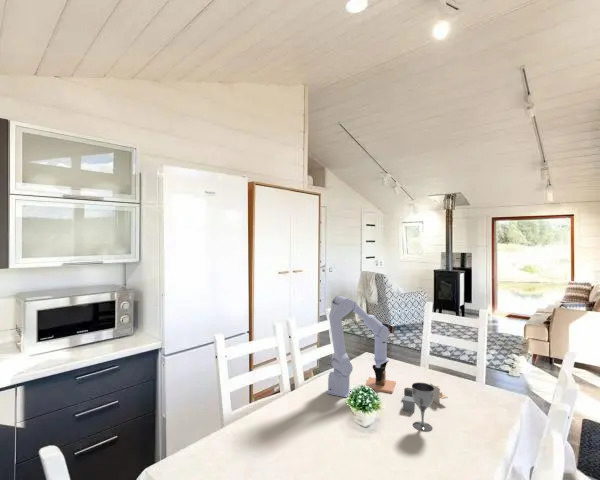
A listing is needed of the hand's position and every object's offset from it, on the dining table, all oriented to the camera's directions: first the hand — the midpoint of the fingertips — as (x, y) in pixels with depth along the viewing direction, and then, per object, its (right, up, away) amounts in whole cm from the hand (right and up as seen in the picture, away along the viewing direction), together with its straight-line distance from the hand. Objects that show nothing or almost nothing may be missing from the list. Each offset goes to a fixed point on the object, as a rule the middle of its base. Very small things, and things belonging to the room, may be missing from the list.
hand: (380, 377), depth 166 cm
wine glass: (+8, -4, -36) cm, 37 cm away
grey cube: (+7, -4, -22) cm, 24 cm away
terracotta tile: (0, -4, 0) cm, 4 cm away
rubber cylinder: (+10, -4, -13) cm, 17 cm away
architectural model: (+21, -5, -15) cm, 26 cm away
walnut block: (0, -3, 0) cm, 3 cm away
